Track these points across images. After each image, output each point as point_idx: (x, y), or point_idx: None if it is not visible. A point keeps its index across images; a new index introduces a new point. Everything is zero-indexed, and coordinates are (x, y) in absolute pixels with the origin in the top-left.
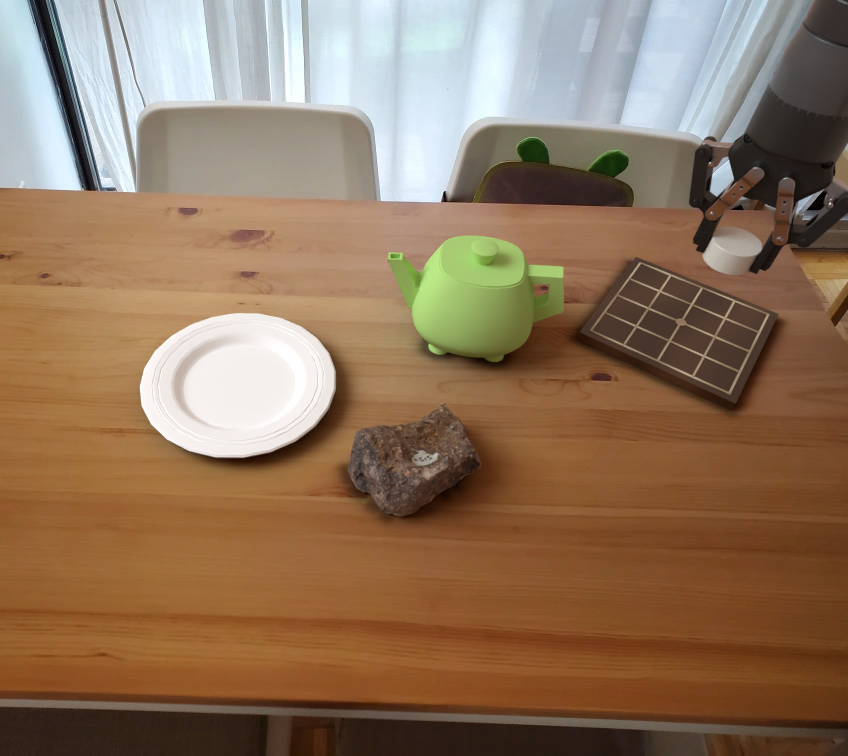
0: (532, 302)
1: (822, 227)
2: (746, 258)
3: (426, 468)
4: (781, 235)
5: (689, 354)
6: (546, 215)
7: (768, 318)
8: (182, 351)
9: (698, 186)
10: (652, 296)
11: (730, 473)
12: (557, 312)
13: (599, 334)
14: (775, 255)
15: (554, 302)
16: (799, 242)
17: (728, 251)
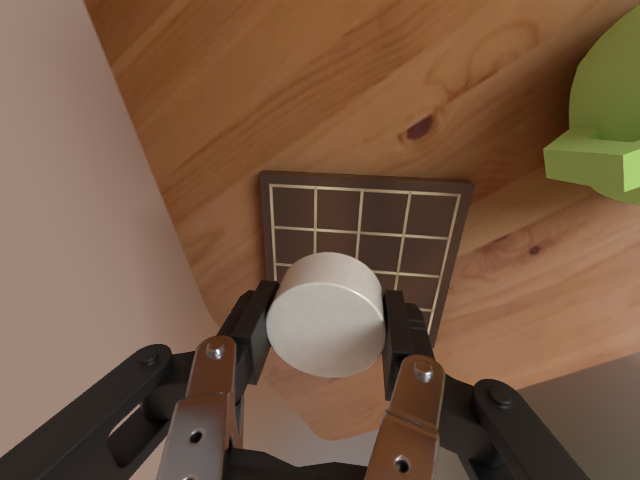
0: (630, 110)
1: (77, 415)
2: (286, 288)
3: None
4: (210, 360)
5: (330, 223)
6: (555, 372)
7: None
8: None
9: (548, 466)
10: None
11: (226, 61)
12: (551, 144)
13: (446, 194)
14: (229, 319)
15: (577, 143)
16: (161, 354)
17: (331, 286)
